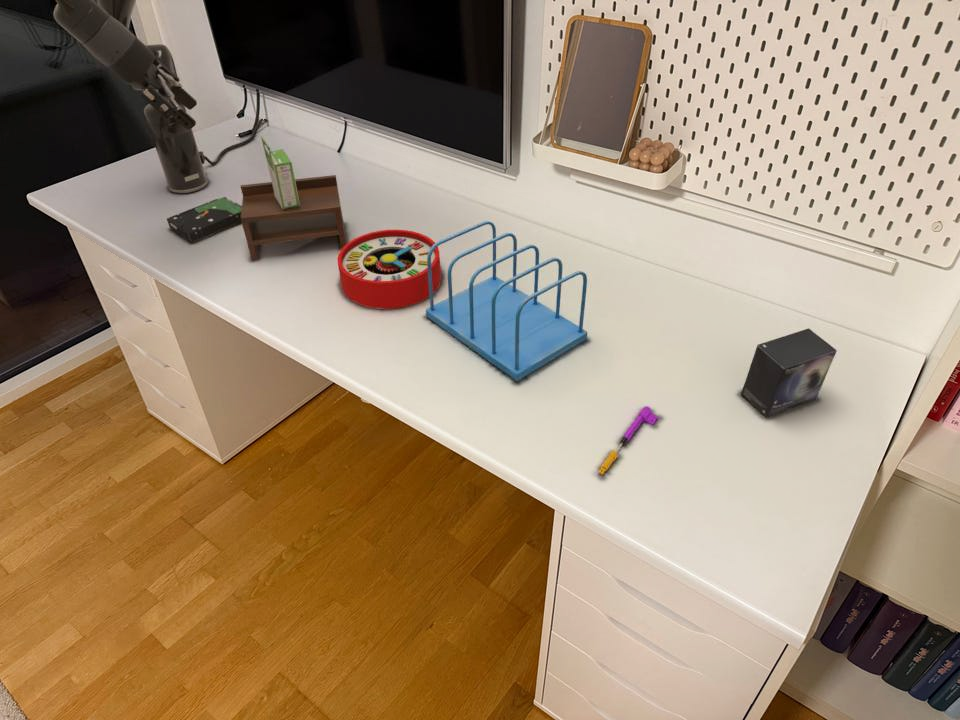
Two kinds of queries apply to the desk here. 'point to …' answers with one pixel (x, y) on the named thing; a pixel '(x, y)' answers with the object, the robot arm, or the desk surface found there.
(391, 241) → the toy clock
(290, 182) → the ink box
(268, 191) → the desk shelf
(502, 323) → the file sorter
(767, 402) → the small box
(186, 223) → the disk drive
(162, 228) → the desk surface
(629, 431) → the purple orange tool
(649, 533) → the desk surface
